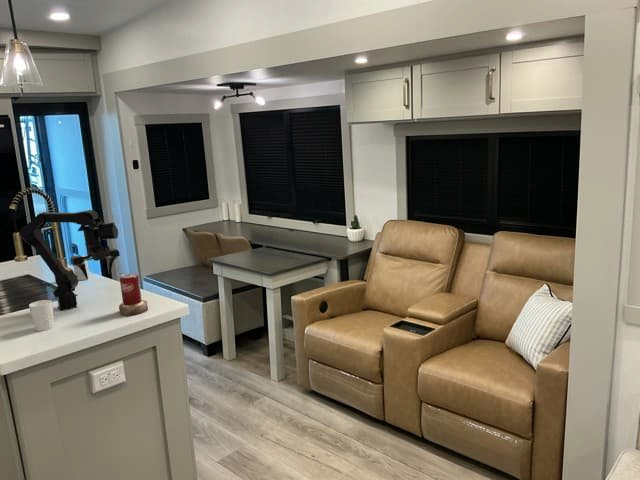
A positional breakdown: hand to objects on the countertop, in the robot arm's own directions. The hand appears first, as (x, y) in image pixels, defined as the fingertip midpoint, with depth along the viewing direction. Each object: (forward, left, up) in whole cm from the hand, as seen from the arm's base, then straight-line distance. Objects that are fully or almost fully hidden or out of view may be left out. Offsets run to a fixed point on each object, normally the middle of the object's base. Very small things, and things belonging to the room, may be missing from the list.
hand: (98, 276), depth 224 cm
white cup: (-25, -11, -13) cm, 30 cm away
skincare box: (+6, +53, -13) cm, 55 cm away
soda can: (+7, -18, -10) cm, 22 cm away
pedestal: (+7, -18, -13) cm, 24 cm away
